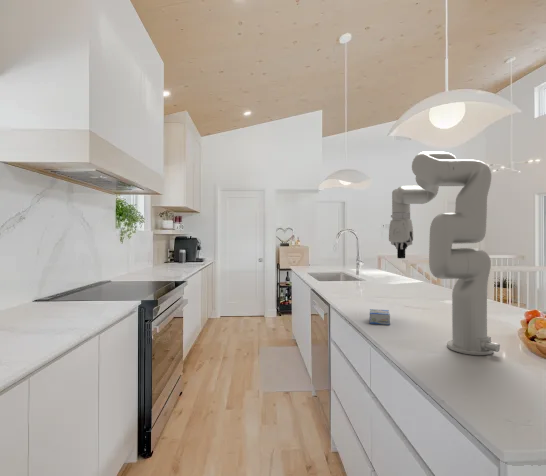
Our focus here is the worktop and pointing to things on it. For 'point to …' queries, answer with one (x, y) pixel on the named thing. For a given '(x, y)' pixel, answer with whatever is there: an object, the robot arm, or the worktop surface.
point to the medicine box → (379, 317)
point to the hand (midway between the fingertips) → (401, 258)
